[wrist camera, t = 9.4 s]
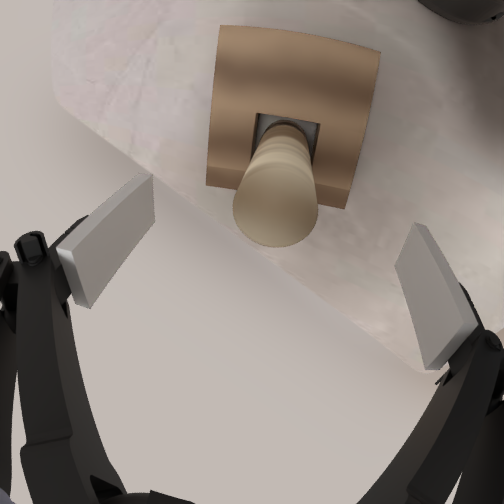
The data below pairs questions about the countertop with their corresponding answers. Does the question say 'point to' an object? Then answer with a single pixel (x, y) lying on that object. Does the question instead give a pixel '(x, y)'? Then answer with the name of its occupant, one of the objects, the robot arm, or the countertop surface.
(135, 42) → the countertop surface
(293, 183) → the peg
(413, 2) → the countertop surface
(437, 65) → the countertop surface
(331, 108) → the board
